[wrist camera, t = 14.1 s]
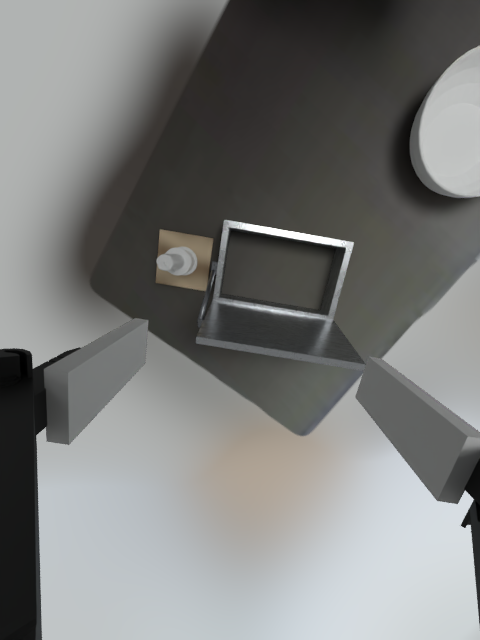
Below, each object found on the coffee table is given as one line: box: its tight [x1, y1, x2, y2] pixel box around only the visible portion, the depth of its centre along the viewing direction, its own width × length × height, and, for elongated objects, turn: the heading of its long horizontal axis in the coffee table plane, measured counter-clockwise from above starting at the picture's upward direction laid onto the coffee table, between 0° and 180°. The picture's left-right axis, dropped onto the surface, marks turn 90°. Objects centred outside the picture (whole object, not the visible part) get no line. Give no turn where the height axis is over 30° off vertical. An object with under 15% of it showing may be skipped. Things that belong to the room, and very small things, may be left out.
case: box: [196, 220, 366, 371], centre depth 38 cm, size 17×23×19 cm
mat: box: [156, 229, 213, 291], centre depth 47 cm, size 10×10×1 cm
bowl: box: [410, 46, 480, 198], centre depth 38 cm, size 20×20×6 cm
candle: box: [156, 247, 197, 276], centre depth 41 cm, size 5×5×12 cm
